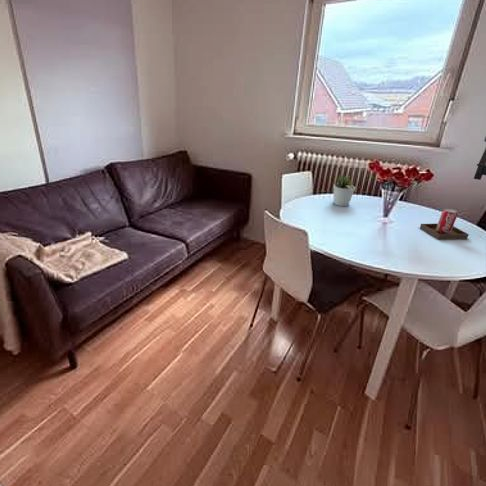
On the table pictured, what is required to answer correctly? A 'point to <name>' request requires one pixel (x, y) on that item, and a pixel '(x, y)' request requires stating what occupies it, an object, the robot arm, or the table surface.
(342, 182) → the potted plant
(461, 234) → the tray
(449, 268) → the table surface
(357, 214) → the table surface
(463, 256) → the table surface
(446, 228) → the beverage can
